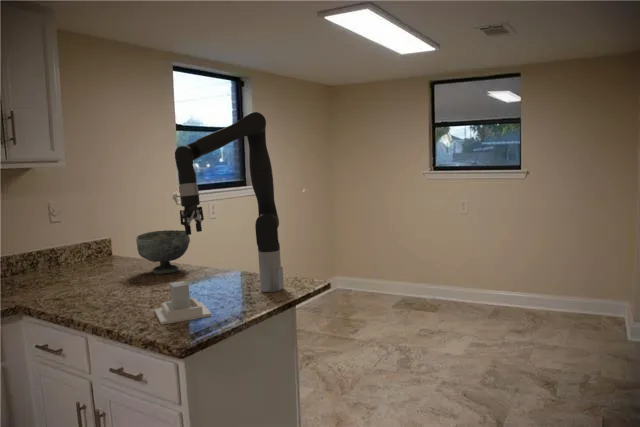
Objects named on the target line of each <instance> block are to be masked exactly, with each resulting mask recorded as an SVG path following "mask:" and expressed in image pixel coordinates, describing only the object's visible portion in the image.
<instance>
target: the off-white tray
mask: <svg viewBox="0 0 640 427" xmlns="http://www.w3.org/2000/svg"><path fill="white" fill-rule="evenodd" d="M153 311H154V313H155V315H156V316H155V317H157V320H158V322H159V323H160V325H161V326H162V325H166V324H167V325H168V324H173V323H178V322H184V321H191V320H196V319H201V318H207V317H212V312H211V311H210V310H209V308H208V307H207V306H205V304H204V303H203V302H202V301H198V300H197V299H196V298H195V297H191V298H190V308H186V309H180V310H174V311H173V310H172V304H171V301H170V300H169V301H164V302H161V307H160V308H154V310H153Z"/></svg>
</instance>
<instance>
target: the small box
mask: <svg viewBox="0 0 640 427" xmlns="http://www.w3.org/2000/svg"><path fill="white" fill-rule="evenodd" d="M189 287H190V286H189V284H188V282H187V283H186V281H185V280H183V281H174V282H170V283H169V292H170V300H171V304H172V310H173V311H174V310H180V309H186V308H190V289H189Z"/></svg>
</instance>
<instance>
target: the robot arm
mask: <svg viewBox="0 0 640 427" xmlns="http://www.w3.org/2000/svg"><path fill="white" fill-rule="evenodd" d="M266 127H267V120H266V118H265V115H263V114H262V113H261V112H259V111H251V112H249V113H248V114H246V115H245V116H243V117H242V118H241V119H239V120H238V121H236V122H234V123H232V124H230V125H228V126H226V127H223V128H222V129H218V130H216V131H213V132H211V133H209V134H206V135H204V136H202V137H199V138H198V139H196V141H193V142H191V143H188V144H185V145H180V146H177V147H176V149H175V152H174V159H175V165H176V169H177V174H178V184H179V190H178V191H179V197H180V198H179V199H180V206H181V207H183V209H181V210H179V219H180V225H181V226H184V231H185V233H186V235H189V236H190V235H192V228H191V227H192V226H191V223H192V221H193V220H194V222H195V229H196V230H195V231H196V232H197V233H200V232H202V231H203V230H202V229H203V228H202V222H203V221H204V220H205V218H204V211H203V207H202V206H199V205H200V204H201V203H200V196H199V195H200V193H199V186H198V181H197V176H196V171H195V169H194V161H195V160H197V159H199V158H200V157H202V156H204V155H208V154H210V153H212V152H215V151H216V150H219V149H221V148H223V147H225V146H227V145H228V144H231V143H232V142H234V141H236V140H239V139H241V138H243V137H247V142H248V148H249V149H248V150H249V152H248V154H249V155H248V158H249V159H248V162H249V163H248V164H249V173H250V181H251V185H252V189H253V192H254V195H255V198H256V200H257V201H256V202H257V208H258V217H257V218H256V220H255V225H254V226H255V229H254V230H255V240H256V245H257V252H258V255H257V256H258V271H259V284H260V291H261V292H263V293H277V292H280V291H282V290H283V289H285V288H284V287H285V286H284V269H283V266H282V264H281V247H280V246H281V245H280V242H279V241H280V240H279V232H278V231H279V225H280V220H279V215H278V210H277V207H276V203H275V201H276V200H275V186H274V175H273V167H272V162H271V158H270V154H269V152H268V148H267V138H266V129H267V128H266Z"/></svg>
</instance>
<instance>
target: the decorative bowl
mask: <svg viewBox="0 0 640 427" xmlns="http://www.w3.org/2000/svg"><path fill="white" fill-rule="evenodd" d="M135 240H136V247H137V253H138V255H139V256H140V257H141V258H143V259H145V260H147V261H149V262H153V263H157V262H159V265H158V266H155V267H154V268H153V269H152V273H153V274H157V275H159V274H160V275H163V274H169V273H176V272H179V270H180V269H179V267H178V266H177V265H175V264H172V263H170V262H171V261H176V260H178V259H180V258H181V257H183V256H184V254H186V252H187V251H188V248H189V244H190V243H191V238H190V235H186V233H185V230H156V231H148V232H145V233H141V234H139V235H137V236H136V237H135Z"/></svg>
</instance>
